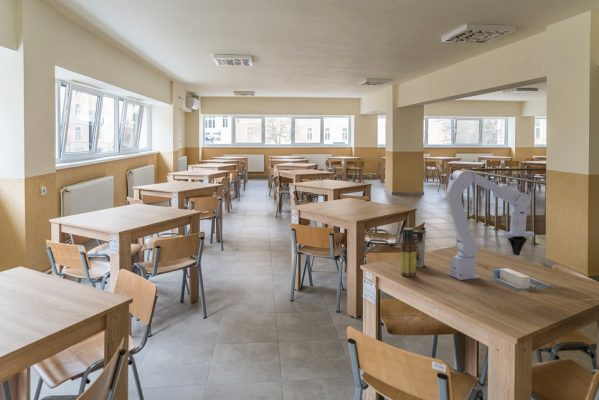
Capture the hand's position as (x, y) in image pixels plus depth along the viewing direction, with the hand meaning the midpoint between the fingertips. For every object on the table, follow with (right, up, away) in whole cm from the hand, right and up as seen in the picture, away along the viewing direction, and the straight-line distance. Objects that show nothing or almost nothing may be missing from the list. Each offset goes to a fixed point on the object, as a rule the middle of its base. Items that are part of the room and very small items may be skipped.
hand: (516, 254), depth 187 cm
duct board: (-2, -11, -9) cm, 14 cm away
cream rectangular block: (-5, -10, -10) cm, 15 cm away
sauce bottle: (-44, -9, +3) cm, 45 cm away
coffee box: (-38, -7, +19) cm, 43 cm away
